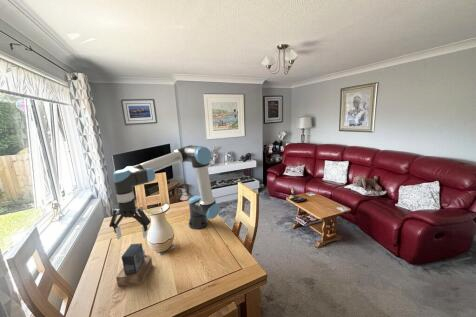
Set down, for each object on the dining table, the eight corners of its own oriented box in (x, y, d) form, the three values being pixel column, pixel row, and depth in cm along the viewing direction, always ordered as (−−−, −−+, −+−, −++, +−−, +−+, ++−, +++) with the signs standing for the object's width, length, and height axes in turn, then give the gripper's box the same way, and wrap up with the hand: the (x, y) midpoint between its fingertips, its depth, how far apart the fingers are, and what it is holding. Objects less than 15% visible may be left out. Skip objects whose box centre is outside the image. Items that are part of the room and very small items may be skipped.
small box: (133, 260, 112) (130, 243, 110) (144, 259, 113) (142, 242, 111) (123, 274, 102) (120, 256, 100) (136, 273, 102) (133, 255, 100)
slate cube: (145, 255, 124) (144, 248, 123) (143, 260, 119) (142, 253, 118) (136, 256, 123) (135, 249, 122) (134, 262, 118) (133, 254, 117)
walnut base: (152, 264, 115) (151, 257, 114) (141, 284, 101) (139, 276, 100) (131, 265, 115) (130, 258, 114) (117, 285, 101) (116, 277, 100)
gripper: (153, 195, 105) (158, 232, 109) (106, 198, 104) (112, 234, 109) (147, 201, 97) (153, 240, 102) (96, 204, 97) (104, 242, 101)
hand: (132, 237), depth 105 cm, fingers open, 13 cm apart
